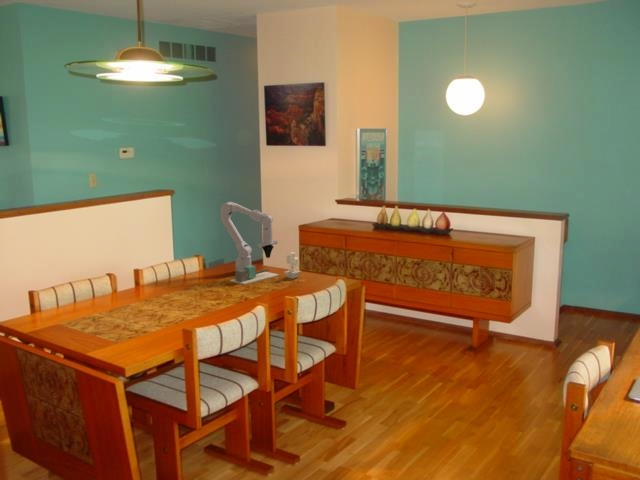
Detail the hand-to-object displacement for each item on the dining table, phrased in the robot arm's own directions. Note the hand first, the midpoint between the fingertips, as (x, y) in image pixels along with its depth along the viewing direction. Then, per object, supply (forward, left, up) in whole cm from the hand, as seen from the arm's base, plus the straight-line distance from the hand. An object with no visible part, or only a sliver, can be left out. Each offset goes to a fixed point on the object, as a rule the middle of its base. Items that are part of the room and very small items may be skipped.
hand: (267, 257), depth 384 cm
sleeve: (+5, -19, -8) cm, 21 cm away
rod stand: (+5, -15, -9) cm, 19 cm away
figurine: (+20, +1, -10) cm, 22 cm away
